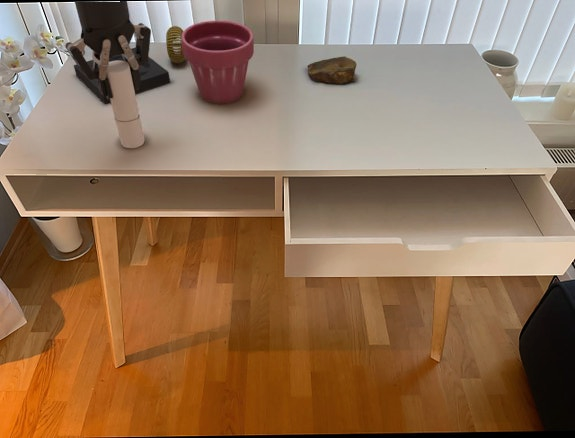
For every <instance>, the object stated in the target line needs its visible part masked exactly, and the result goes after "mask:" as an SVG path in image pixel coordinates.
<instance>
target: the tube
mask: <svg viewBox="0 0 575 438" xmlns="http://www.w3.org/2000/svg"><path fill="white" fill-rule="evenodd" d="M106 77H107V78H108V79H109V83H110V88H111V92H112V96H113V98H111V99H110V100H111V102H110V104H111V108H112V112H113V117H114V120H115V124H116V128H117V132H118V136H119V140H120V145H121V146H122V147H123V148H126V149H136V148H139V147H141V146H143V145H144V143H145V141H146V140H145V135H144V130H143V125H142V119H141V115H140V111H139V105H138V101H137V96H136V94H135V91H134V86H133V81H132V76H131V71H130V66H129V64H128V63H127V62H125V61H111V62H109V65H108V66H107V75H106Z"/></svg>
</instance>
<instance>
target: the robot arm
mask: <svg viewBox="0 0 575 438" xmlns="http://www.w3.org/2000/svg"><path fill="white" fill-rule="evenodd" d="M74 4H75V9H76V13H77V16H78V20H79V25H80V29H81V32H80V38H78V39H77V40H75V41H74V42H71V41H68V42H66V43H65V45H64V46H65V49H66V50H67V52H68V54H69V55H70V56H71V58H72V59H73V61H74V63H75V65H76V64H77V65H78V67H79V68H80V70H81V71H82V73H83V74H84V75H86V76H87V78H88V79H90V80H93V79H96V80H97V84H98V87H99V91H100V93H101V94H102V95H103V96H104V97H107V98H108V99H111V98H113V96H112V92H111V88H110V83H109V79H108V78H107V77H106V75H107V66H108V65H109V58H111V57H113V56H114V55H122V56H123V58H124V60H125V62H127V63H128V64H129V66H130V71H131V76H132V81H133V86H134V90H138V89H139V86H140V85H141V79H140V74H139V66H140V65H141V64H143V63H144V64H145V63H147V62H148V56H149V54H150V45H151V36H152V30H151V28H150V27H148V26H147V25H145V24H144V23H142V22H139V23H138V24H133V22H132V21H131V15H130V11H129V5H128V0H127V1H120V2H74ZM133 37H135V38H136V39H135V47H136V48H135V47H134V48H135V55H134V54H133V52H132V50H131V49H132V48H131V45H130V44H131V41H132V38H133ZM85 47H88V48H89V49H90V50H92V55H91V57H92V60H93V68H90V66H89V65H88V63H87V60H86V58H85V57H84V56H85V54H86V50H85Z"/></svg>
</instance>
